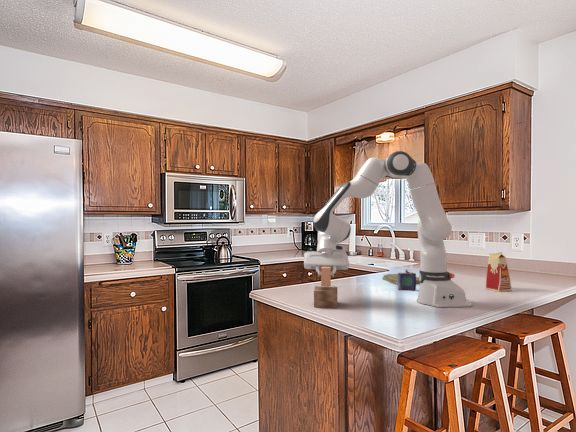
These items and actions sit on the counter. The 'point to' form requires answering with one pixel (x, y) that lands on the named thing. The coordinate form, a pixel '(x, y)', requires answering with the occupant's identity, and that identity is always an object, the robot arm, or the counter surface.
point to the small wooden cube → (325, 297)
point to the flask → (407, 281)
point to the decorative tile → (395, 278)
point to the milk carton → (498, 273)
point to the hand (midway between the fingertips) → (325, 275)
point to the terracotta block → (325, 276)
